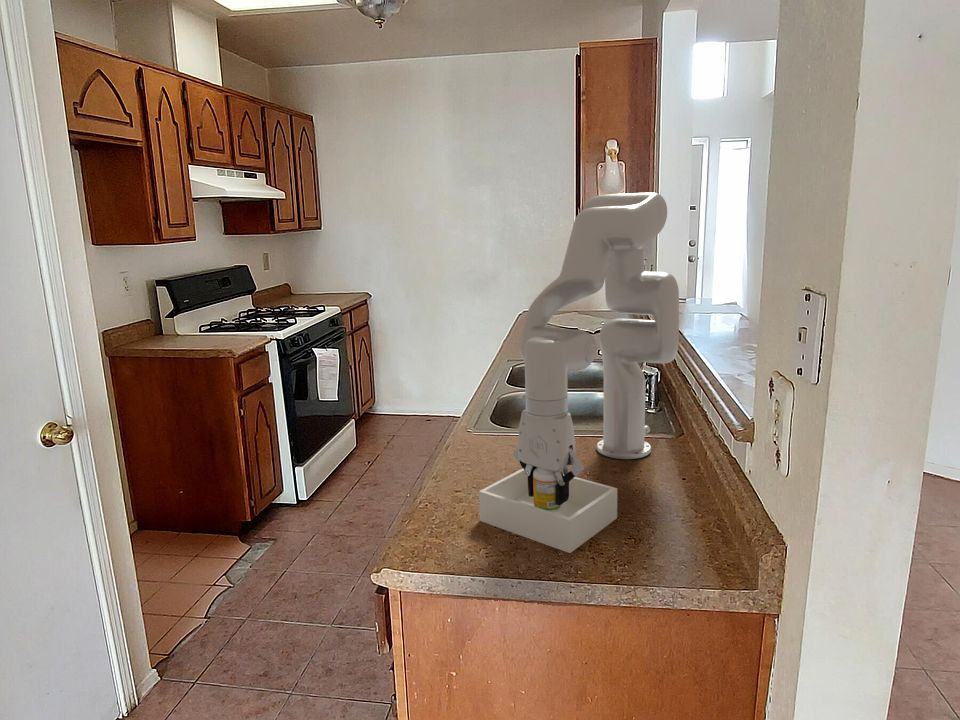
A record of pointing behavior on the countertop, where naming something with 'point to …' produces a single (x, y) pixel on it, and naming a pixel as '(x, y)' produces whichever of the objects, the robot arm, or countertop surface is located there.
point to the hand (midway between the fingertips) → (548, 497)
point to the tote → (562, 529)
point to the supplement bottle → (545, 490)
